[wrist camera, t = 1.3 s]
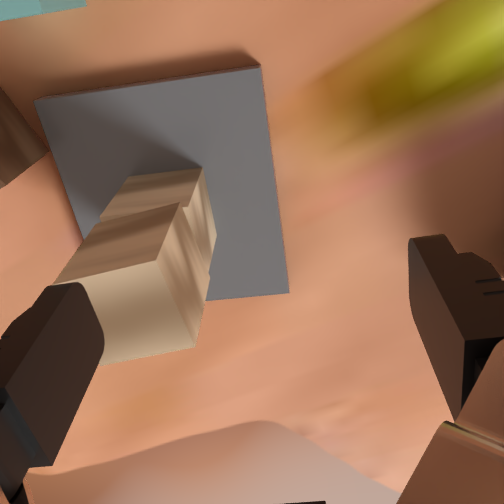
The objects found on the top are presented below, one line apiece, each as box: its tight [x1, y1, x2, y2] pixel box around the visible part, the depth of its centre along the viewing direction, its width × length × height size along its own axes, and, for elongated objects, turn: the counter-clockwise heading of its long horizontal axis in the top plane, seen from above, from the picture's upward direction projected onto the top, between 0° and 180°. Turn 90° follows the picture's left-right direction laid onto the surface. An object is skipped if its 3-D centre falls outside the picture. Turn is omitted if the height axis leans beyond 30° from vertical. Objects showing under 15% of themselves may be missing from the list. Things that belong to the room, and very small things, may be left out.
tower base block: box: [100, 167, 217, 272], centre depth 30 cm, size 5×5×6 cm
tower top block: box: [52, 202, 210, 366], centre depth 25 cm, size 5×5×6 cm
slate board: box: [33, 64, 289, 301], centre depth 33 cm, size 16×14×1 cm
